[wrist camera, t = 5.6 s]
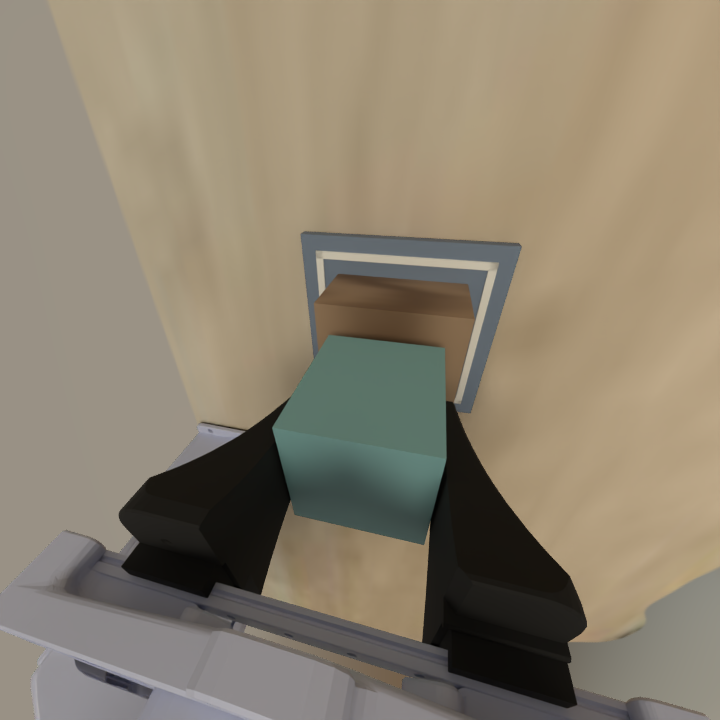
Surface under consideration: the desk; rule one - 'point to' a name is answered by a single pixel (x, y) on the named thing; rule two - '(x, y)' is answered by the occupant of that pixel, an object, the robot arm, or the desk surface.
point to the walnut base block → (400, 316)
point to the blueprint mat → (421, 262)
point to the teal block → (367, 436)
